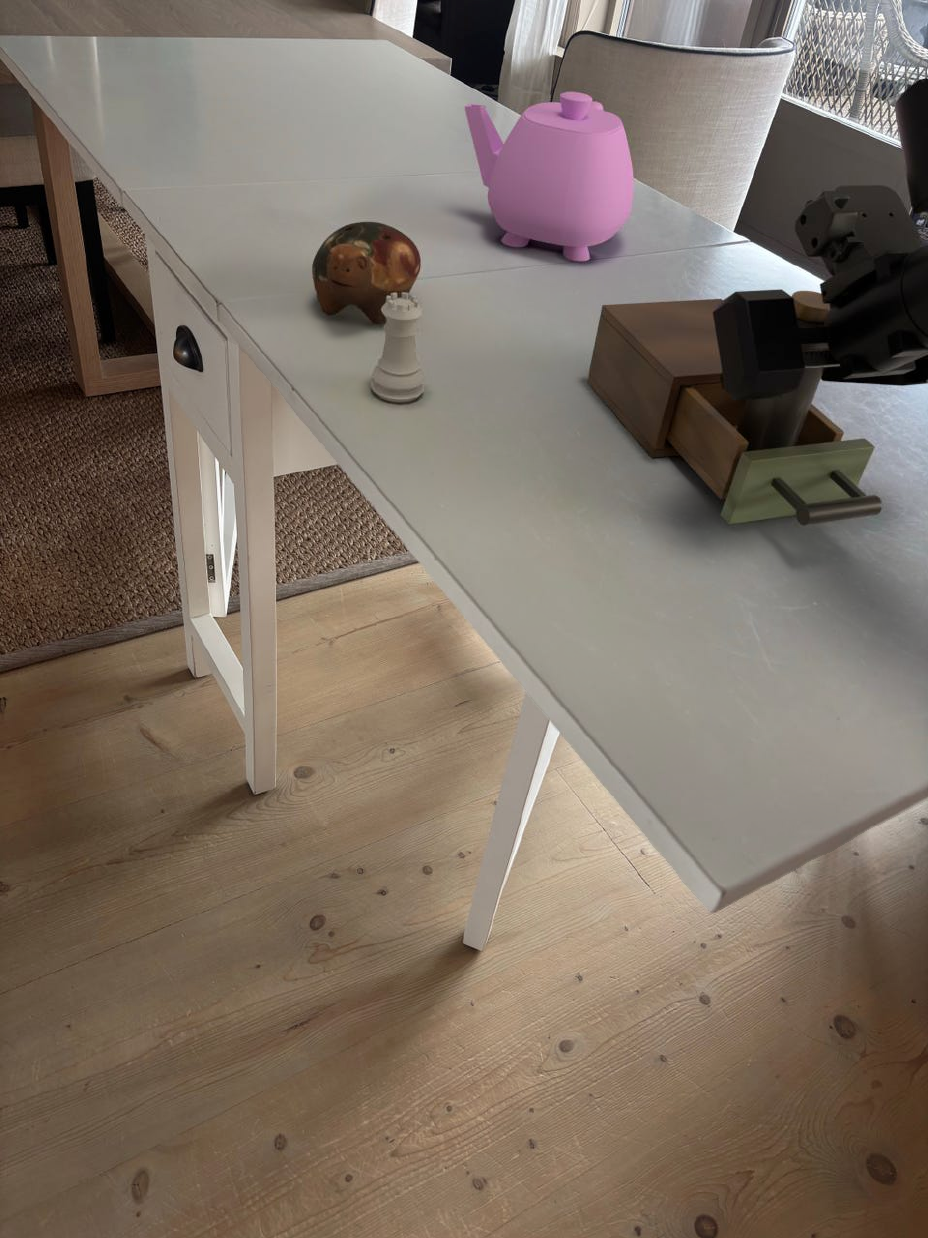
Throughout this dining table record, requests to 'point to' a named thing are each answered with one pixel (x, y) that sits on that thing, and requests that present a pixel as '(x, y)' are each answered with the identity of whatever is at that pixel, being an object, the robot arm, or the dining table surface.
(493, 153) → the teapot
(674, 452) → the cabinet
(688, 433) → the drawer
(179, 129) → the dining table surface
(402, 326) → the rook chess piece
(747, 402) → the pepper mill
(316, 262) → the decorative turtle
